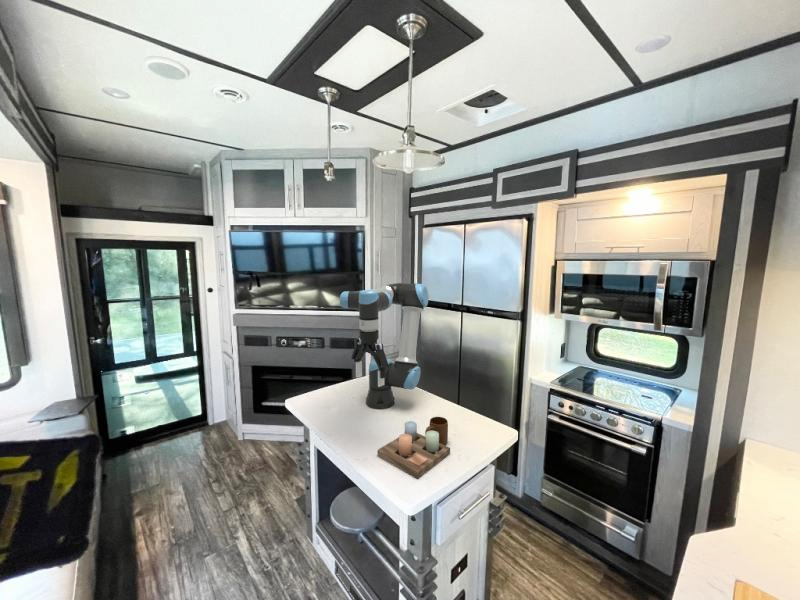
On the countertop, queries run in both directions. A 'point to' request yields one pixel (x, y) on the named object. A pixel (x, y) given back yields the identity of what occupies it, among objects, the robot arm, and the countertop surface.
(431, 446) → the pale green rounded cylinder
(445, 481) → the countertop surface
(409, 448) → the peach rounded cylinder
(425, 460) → the wooden compartment tray
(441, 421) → the mug
